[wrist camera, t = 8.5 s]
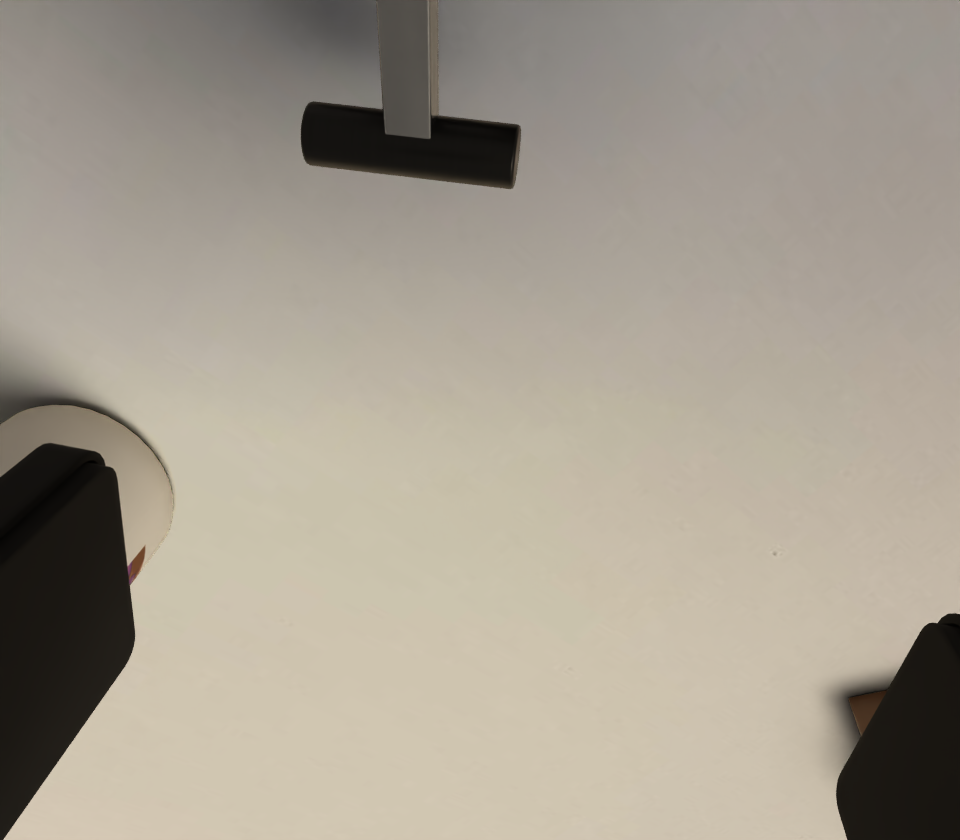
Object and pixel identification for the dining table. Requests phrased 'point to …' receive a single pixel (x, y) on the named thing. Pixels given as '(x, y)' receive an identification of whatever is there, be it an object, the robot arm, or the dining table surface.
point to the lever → (410, 115)
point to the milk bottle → (121, 450)
